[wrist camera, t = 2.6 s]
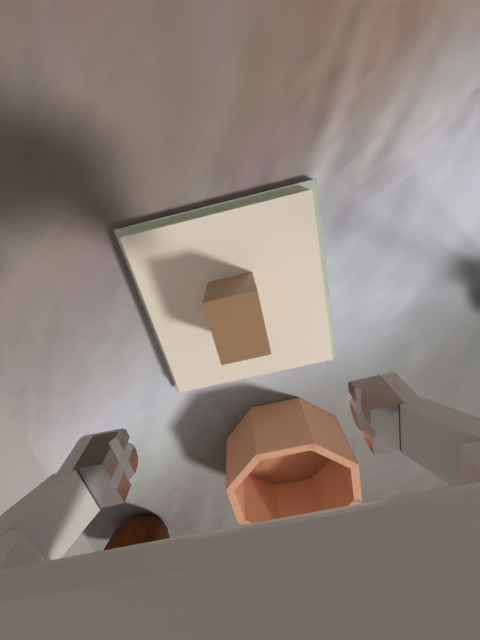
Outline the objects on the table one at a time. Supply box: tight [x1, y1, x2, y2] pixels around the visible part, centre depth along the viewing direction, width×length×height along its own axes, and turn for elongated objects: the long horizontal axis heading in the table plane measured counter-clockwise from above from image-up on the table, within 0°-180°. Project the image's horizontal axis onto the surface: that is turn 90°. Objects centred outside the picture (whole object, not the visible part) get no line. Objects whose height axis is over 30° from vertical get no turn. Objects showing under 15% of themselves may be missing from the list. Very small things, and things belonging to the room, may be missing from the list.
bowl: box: [226, 397, 362, 525], centre depth 25 cm, size 10×10×5 cm
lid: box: [120, 189, 333, 392], centre depth 18 cm, size 12×12×5 cm
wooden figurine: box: [104, 516, 169, 550], centre depth 24 cm, size 7×6×15 cm
